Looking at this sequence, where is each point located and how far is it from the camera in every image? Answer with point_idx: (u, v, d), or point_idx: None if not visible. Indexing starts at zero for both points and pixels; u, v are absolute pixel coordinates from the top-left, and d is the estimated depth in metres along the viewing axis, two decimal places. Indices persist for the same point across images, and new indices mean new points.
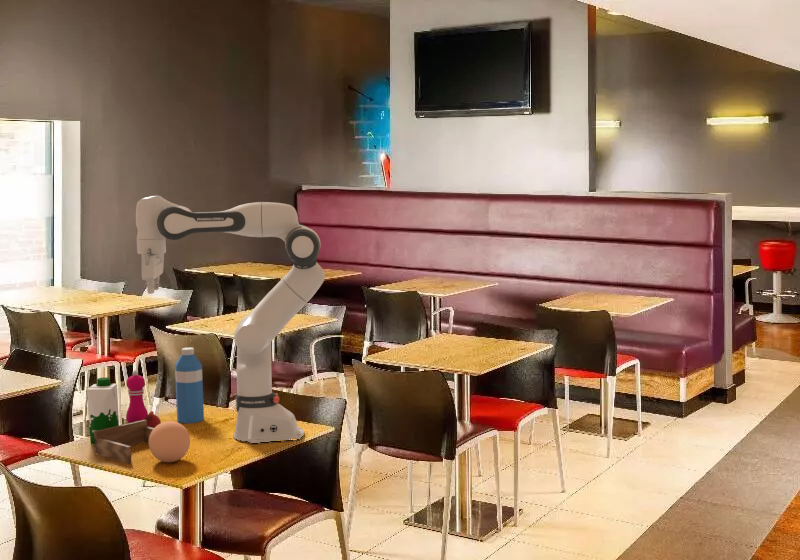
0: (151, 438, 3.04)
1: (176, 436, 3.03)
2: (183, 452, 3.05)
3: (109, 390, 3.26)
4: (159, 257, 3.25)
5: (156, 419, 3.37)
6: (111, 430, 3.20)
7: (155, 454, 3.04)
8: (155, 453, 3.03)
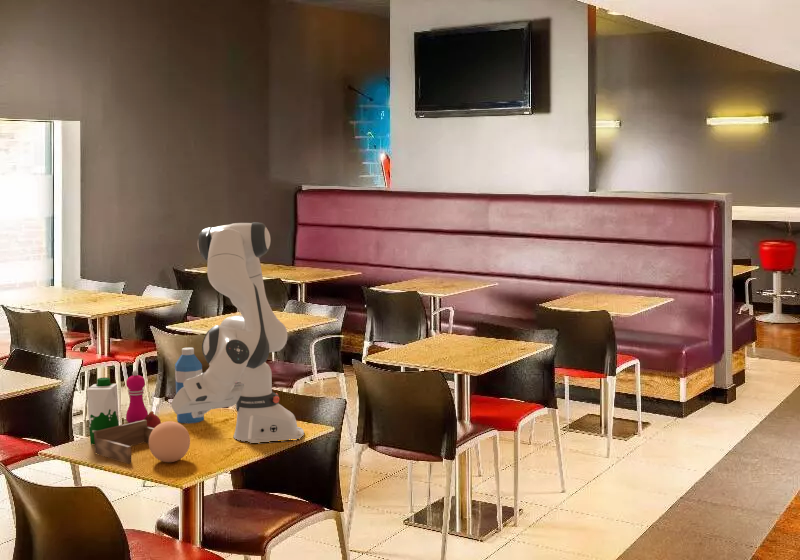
0: (151, 438, 3.04)
1: (176, 436, 3.03)
2: (183, 452, 3.05)
3: (109, 390, 3.26)
4: None
5: (156, 419, 3.37)
6: (111, 430, 3.20)
7: (155, 454, 3.04)
8: (155, 453, 3.03)
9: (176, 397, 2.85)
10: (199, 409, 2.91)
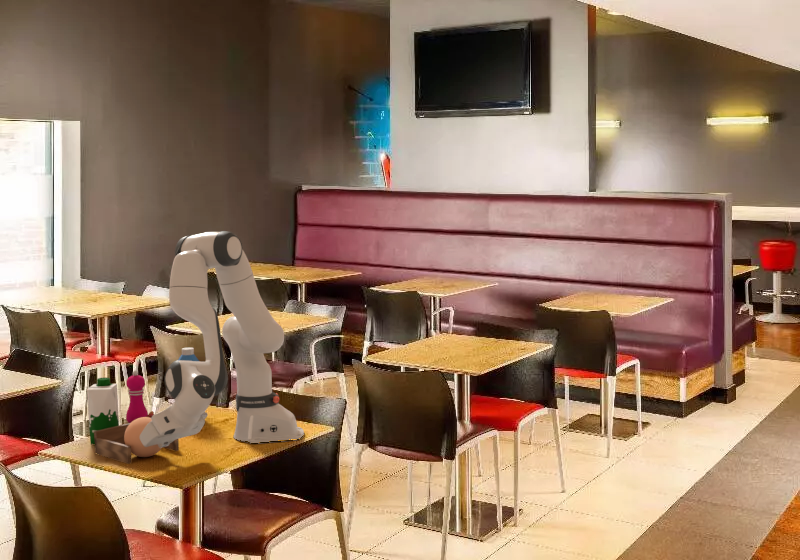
0: None
1: (131, 422, 3.13)
2: (148, 418, 3.12)
3: (109, 390, 3.26)
4: None
5: None
6: (111, 430, 3.20)
7: (137, 442, 3.08)
8: (135, 441, 3.08)
9: (144, 431, 2.99)
10: (166, 440, 3.05)
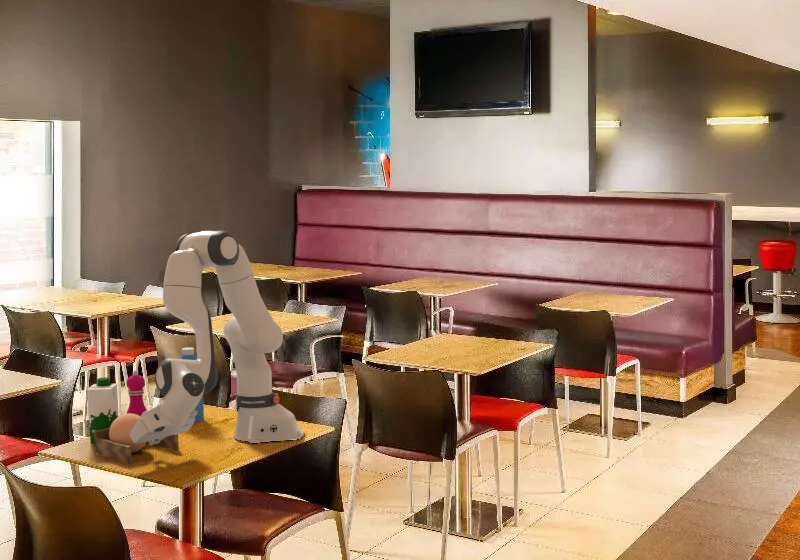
0: (118, 442, 3.13)
1: None
2: None
3: (109, 390, 3.26)
4: None
5: None
6: None
7: (117, 426, 3.13)
8: (116, 428, 3.13)
9: (135, 428, 3.02)
10: (156, 437, 3.08)
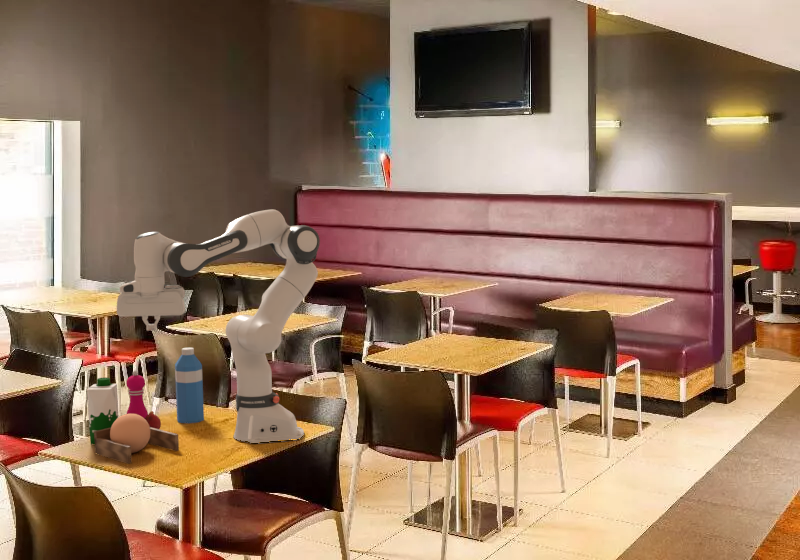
0: (119, 442, 3.13)
1: None
2: None
3: (109, 390, 3.26)
4: None
5: (156, 419, 3.37)
6: None
7: (119, 426, 3.13)
8: (117, 427, 3.13)
9: None
10: (141, 312, 3.16)
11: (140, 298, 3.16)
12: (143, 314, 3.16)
